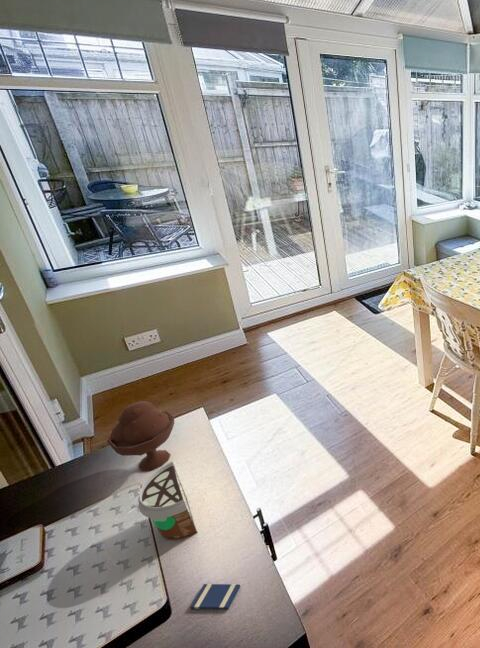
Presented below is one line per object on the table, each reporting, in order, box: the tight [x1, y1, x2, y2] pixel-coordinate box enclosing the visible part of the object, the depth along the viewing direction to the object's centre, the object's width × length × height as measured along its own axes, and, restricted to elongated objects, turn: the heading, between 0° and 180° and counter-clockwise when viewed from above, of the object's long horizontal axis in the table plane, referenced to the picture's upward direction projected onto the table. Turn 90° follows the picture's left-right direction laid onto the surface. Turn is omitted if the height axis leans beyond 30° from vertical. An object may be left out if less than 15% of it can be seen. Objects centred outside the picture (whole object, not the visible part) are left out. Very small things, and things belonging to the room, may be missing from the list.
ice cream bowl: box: [106, 400, 175, 472], centre depth 89 cm, size 11×11×15 cm
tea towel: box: [190, 583, 241, 610], centre depth 68 cm, size 6×3×1 cm, turn 91°
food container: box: [137, 461, 198, 541], centre depth 77 cm, size 12×6×10 cm, turn 45°
